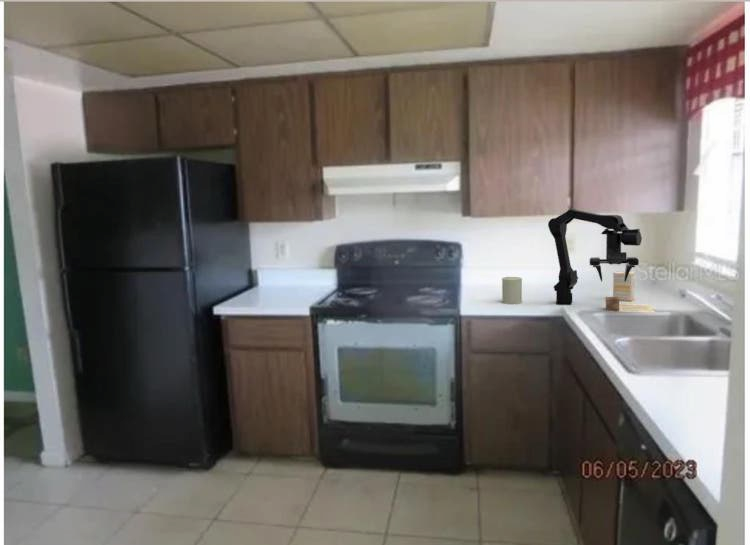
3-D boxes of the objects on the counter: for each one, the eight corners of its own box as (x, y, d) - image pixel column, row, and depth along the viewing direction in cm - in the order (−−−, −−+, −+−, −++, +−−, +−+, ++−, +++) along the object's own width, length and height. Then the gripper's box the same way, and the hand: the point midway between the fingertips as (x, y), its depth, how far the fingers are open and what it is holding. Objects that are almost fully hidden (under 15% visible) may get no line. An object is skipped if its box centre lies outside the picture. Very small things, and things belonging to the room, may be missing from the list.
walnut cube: (606, 310, 226) (606, 299, 225) (605, 308, 231) (605, 297, 230) (619, 310, 224) (619, 299, 223) (618, 308, 229) (618, 296, 228)
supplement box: (634, 300, 244) (635, 272, 243) (631, 302, 241) (632, 273, 239) (615, 298, 250) (616, 271, 248) (612, 300, 246) (613, 272, 244)
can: (508, 299, 257) (508, 275, 256) (525, 301, 251) (525, 276, 249) (498, 302, 251) (498, 277, 249) (515, 305, 244) (515, 279, 243)
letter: (618, 311, 223) (618, 311, 223) (615, 304, 238) (615, 303, 238) (655, 313, 218) (655, 312, 218) (650, 305, 233) (650, 304, 233)
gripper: (590, 247, 220) (590, 284, 222) (640, 246, 213) (639, 284, 216) (589, 244, 230) (589, 280, 232) (637, 243, 224) (636, 280, 226)
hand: (613, 281), depth 226 cm, fingers open, 9 cm apart
